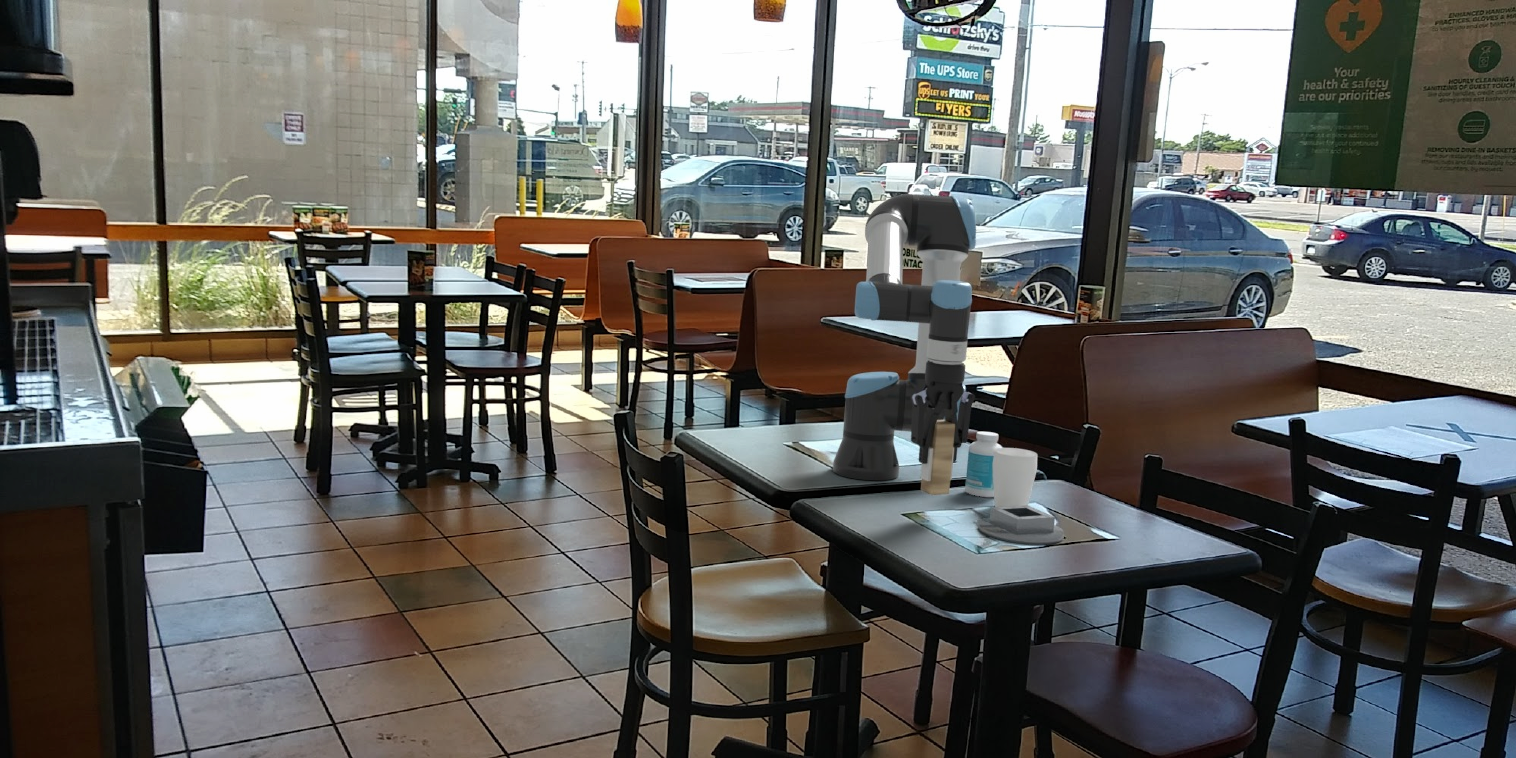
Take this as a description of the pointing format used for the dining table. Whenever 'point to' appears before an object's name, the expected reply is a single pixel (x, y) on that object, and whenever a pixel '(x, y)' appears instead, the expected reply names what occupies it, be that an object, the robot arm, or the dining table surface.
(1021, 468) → the cup
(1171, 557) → the dining table surface
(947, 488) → the tan wooden block
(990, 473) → the pill bottle
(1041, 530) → the square tray on disc
